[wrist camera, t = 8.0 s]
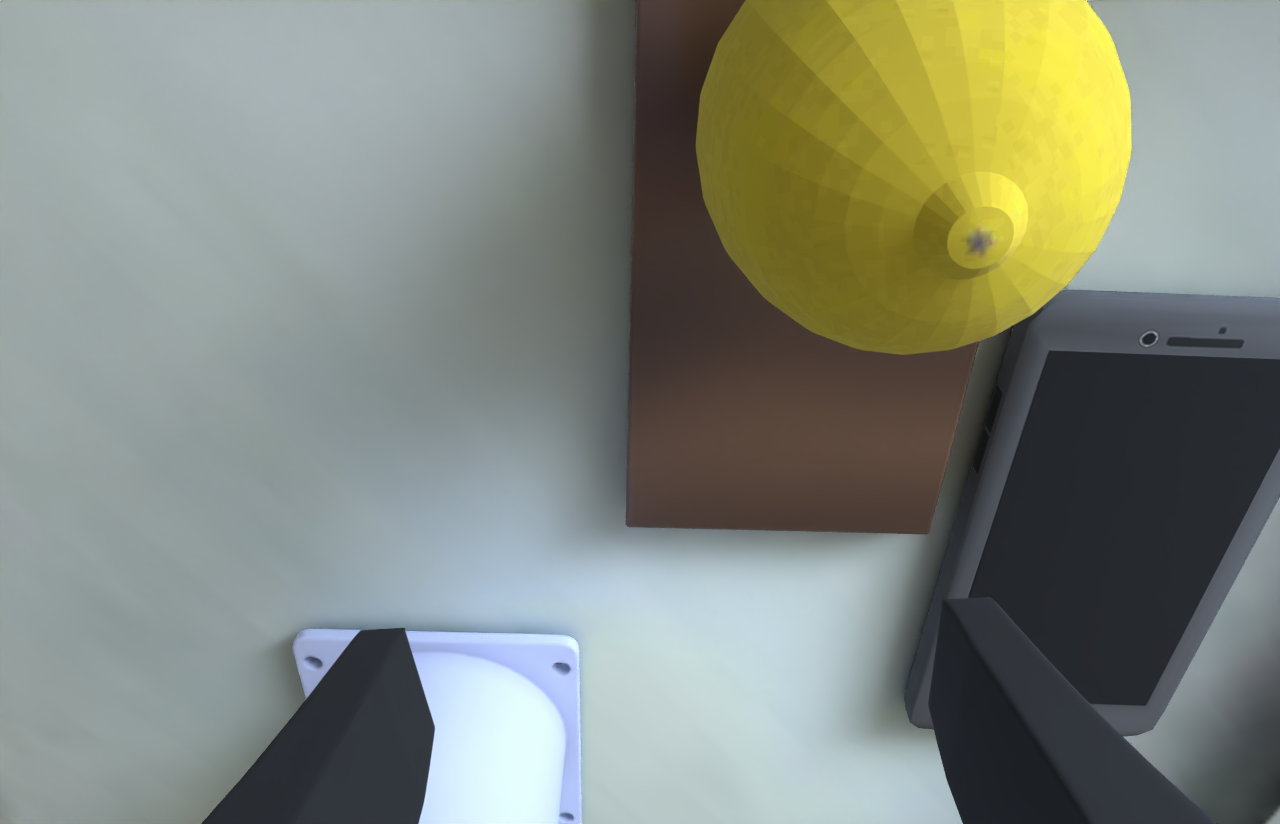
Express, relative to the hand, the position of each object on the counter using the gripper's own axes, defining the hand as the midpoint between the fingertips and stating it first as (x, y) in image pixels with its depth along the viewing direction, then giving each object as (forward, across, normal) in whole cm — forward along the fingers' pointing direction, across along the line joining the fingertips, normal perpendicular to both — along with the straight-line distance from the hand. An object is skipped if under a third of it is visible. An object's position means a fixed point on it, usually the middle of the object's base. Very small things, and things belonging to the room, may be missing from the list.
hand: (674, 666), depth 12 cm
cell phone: (+9, -11, +6) cm, 16 cm away
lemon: (+9, -4, -6) cm, 11 cm away
